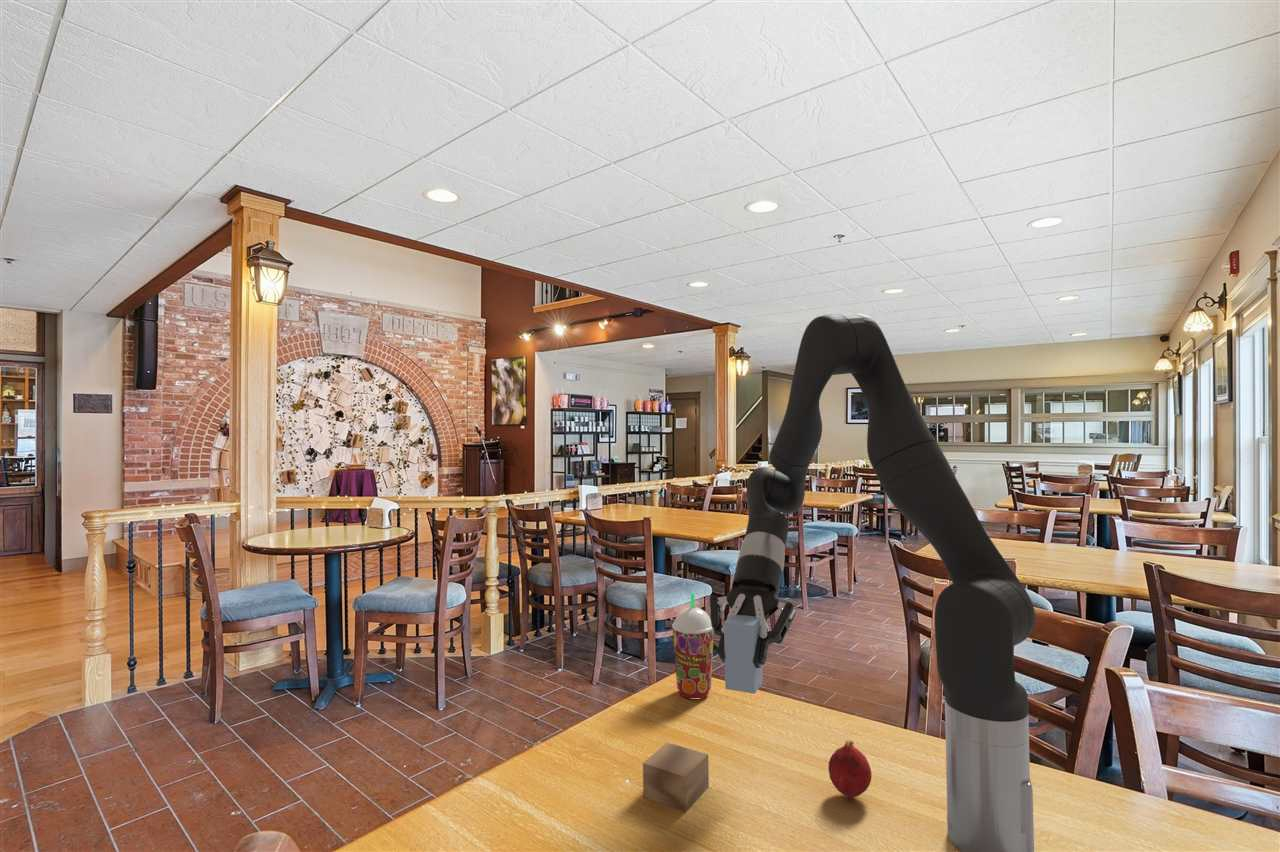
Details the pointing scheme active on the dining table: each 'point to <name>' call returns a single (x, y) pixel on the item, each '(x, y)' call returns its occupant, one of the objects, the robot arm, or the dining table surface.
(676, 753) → the walnut block
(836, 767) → the onion
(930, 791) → the dining table surface
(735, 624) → the pillar
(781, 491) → the robot arm
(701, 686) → the smoothie
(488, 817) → the dining table surface
